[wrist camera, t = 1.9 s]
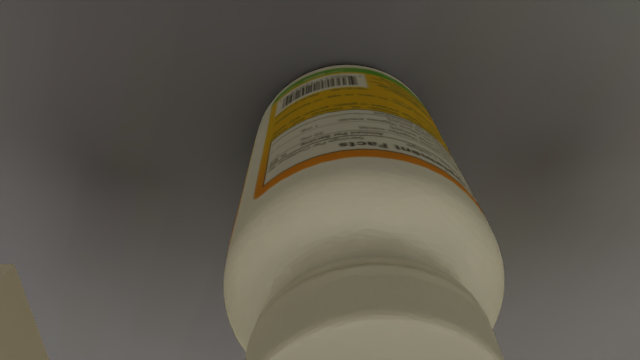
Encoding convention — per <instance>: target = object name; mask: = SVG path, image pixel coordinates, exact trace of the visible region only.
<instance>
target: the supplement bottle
mask: <svg viewBox="0 0 640 360" xmlns="http://www.w3.org/2000/svg"><path fill="white" fill-rule="evenodd" d="M223 289H224V301H225V306H226V312H227V315H228V319H229V322H230V325H231V327H232V329H233V332H234V334H235V336H236V338H237V340H238V341H239V343H240V345H241V346H242V347H243V349H244V350H245V352H246V360H504V359H503V356H502V353H501V351H500V348H499V346H498V343H497V341H496V338H495V336H494V333H493V330H492V329H493V327H494V325H495V323H496V320H497V317H498V315H499V312H500V309H501V305H502V300H503V295H504V266H503V261H502V257H501V253H500V249H499V246H498V243H497V241H496V239H495V236H494V234H493V232H492V230H491V228H490V226H489V224H488V222H487V219H486V218H485V216H484V214H483V212H482V210H481V208H480V206H479V204H478V202H477V201H476V199H475V198H474V196H473V194H472V192H471V190H470V188H469V187H468V185H467V183H466V181H465V179H464V178H463V176H462V174H461V172H460V170H459V169H458V167H457V165H456V163H455V161H454V159H453V158H452V156H451V154H450V152H449V150H448V148H447V146H446V145H445V143H444V141H443V139H442V137H441V135H440V133H439V131H438V130H437V128H436V126H435V124H434V122H433V120H432V118H431V117H430V115H429V113H428V111H427V110H426V108H425V107H424V105H423V104H422V102H421V101H420V100H419V98H418V97H417V96H416V95H415V94H414V93H413V92H412V91H411V90H410V89H409V88H408V87H407V86H406V85H404V84H403V83H402V82H401V81H399V80H398V79H396V78H395V77H393V76H391V75H389V74H387V73H385V72H382V71H380V70H377V69H374V68H369V67H365V66H358V65H337V66H330V67H325V68H321V69H318V70H315V71H312V72H310V73H307V74H305V75H303V76H301V77H299V78H298V79H296V80H294V81H293V82H292V83H290V84H289V85H288V86H286V87H285V88H284V89H283V90H282V91H281V92H280V93H279V94H278V95H277V96H276V97H275V99H274V100H273V101H272V102H271V104H270V105H269V106H268V108H267V110H266V112H265V114H264V116H263V117H262V120H261V122H260V125H259V128H258V131H257V135H256V138H255V142H254V146H253V150H252V154H251V159H250V163H249V167H248V171H247V175H246V179H245V184H244V188H243V192H242V196H241V200H240V204H239V208H238V212H237V215H236V219H235V223H234V227H233V231H232V235H231V239H230V244H229V248H228V253H227V259H226V266H225V271H224V284H223Z"/></svg>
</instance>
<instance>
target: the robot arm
mask: <svg viewBox="0 0 640 360" xmlns="http://www.w3.org/2000/svg"><path fill="white" fill-rule="evenodd" d="M0 360H49V358H48V355H47V352H46V350H45V347H44V344H43V341H42V339H41V336H40V333H39V330H38V328H37V325H36V322H35V320H34V317H33V314H32V311H31V309H30V306H29V303H28V300H27V298H26V295H25V292H24V289H23V287H22V284H21V281H20V279H19V276H18V273H17V270H16V268H15V265H14V264H0Z"/></svg>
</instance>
